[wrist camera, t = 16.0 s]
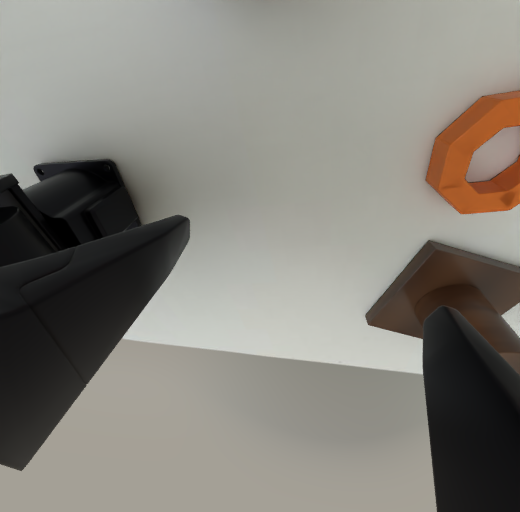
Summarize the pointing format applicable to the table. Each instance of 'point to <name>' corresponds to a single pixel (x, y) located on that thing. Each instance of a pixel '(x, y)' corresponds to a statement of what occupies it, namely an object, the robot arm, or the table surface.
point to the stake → (453, 296)
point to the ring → (460, 153)
